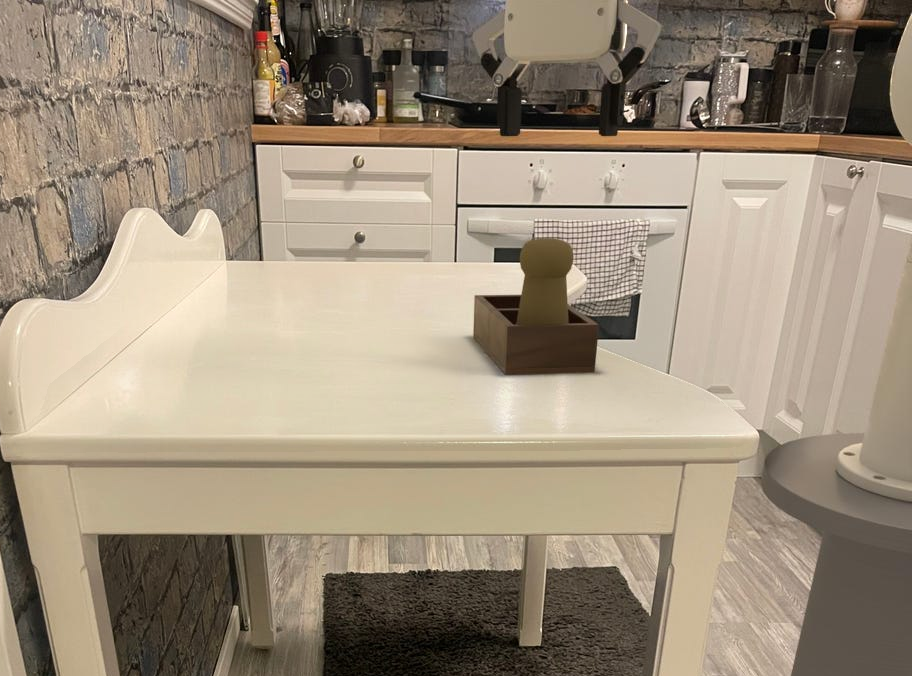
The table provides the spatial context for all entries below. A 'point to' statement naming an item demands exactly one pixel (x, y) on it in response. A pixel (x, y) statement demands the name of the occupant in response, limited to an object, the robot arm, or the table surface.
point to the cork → (545, 281)
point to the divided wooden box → (533, 339)
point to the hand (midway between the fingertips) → (557, 136)
